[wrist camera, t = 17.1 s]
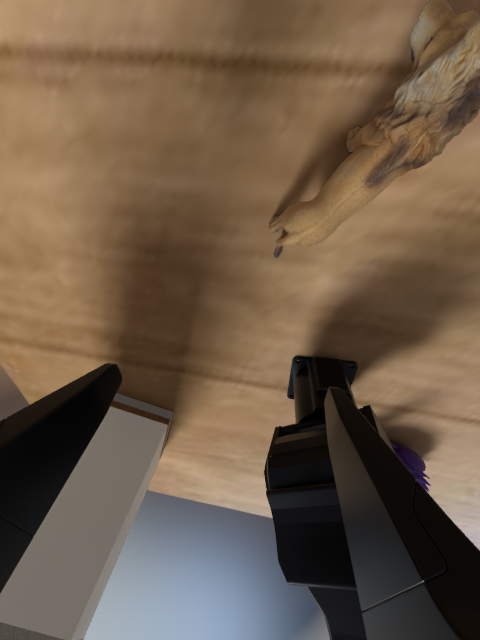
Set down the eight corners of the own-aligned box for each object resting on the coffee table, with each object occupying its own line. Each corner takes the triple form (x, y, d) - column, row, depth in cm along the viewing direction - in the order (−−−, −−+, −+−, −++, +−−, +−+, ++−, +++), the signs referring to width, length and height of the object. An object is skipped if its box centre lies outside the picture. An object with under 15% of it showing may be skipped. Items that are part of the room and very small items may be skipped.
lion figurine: (387, 45, 12) (506, -99, 5) (442, 104, 12) (599, 36, 6) (254, 240, 18) (242, 274, 12) (297, 271, 19) (305, 317, 13)
